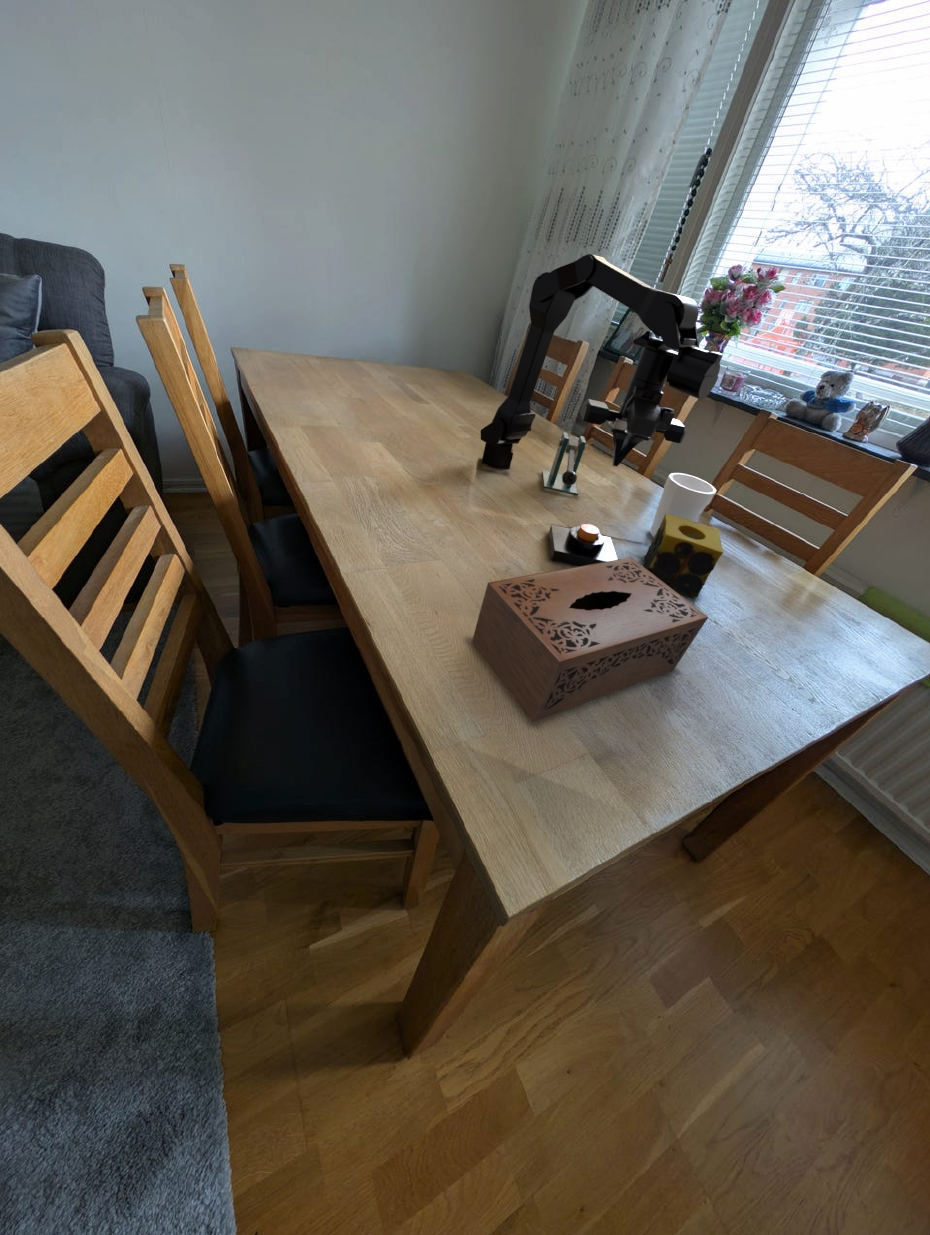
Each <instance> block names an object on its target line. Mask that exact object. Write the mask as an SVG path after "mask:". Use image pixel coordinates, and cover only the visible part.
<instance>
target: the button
mask: <svg viewBox="0 0 930 1235" xmlns="http://www.w3.org/2000/svg"><path fill="white" fill-rule="evenodd" d="M579 526H580V528H579V531H578V534H577V535H578V536H579V537H580V538H582V539H584V540H587V541H596V539H597V537H598V535H599V533H600V532H601V531H600V529H599V528H598V527H597V526H595V525H593V524H589V523H582V524H581V525H579Z"/></svg>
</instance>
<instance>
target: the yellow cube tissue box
mask: <svg viewBox="0 0 930 1235" xmlns="http://www.w3.org/2000/svg"><path fill="white" fill-rule="evenodd" d="M651 540H652V541H651V542H650V544H649V547H648V548H647V552H646V553H645V555H644V557H643V559H644V560H643V565H642V566H643V567H644V568H646V569H647V570H648V571H650V572H651V573H652V574H653V575H655V576H656V577H657V578H659V579H660V580H661V581H663V582H664V583H665V584H666V585H668V586H669V587H670V588H672V589H673V590H674V591H675V592H677V593H678V594H680V595H682V596H686V597H689V598H692V599H697V598H698V597H699V595H700V592H701V591H702V590H703V587H704V586H705V585H706V582H707V581H708V578H709V576H710V575H711V573H712V571H714V569H715V567H716V565H717V563H718V561H719V560H720V558H721V557H722V555H723V554H724V548H723V545H722V538H721V530H720V529H719V528H716V527H713V526H710V525H706V524H703V523H700V522H696V521H695V522H693V521H690V520H687V519H684V518H680V517H677V516H674V515H670V514H665V516H664V518H663V521H662V523H661V525H660V528H659V529H658V531H657V533H656V535H655V536H654V537H653V539H651Z"/></svg>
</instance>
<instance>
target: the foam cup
mask: <svg viewBox="0 0 930 1235" xmlns="http://www.w3.org/2000/svg"><path fill="white" fill-rule="evenodd" d="M716 492H717V489H716V488H715V486H714V485H712V484H711V483H709V482H707V481H706V480H704V479H701V478H700V477H697V476H694V475H691V474H688V473H682V472H670V473H669V475H668V477H667V479H666V481H665V483H664V485H663V491H662V493H661V497H660V499H659V503H658V506H657V508H656V512H655V515H654V517H653V521H652V524H651V526H650V530H649V533H650V535H651V536H652V537H653V538H654V536H655V535H656V533H657V531H658V529H659V528H660V525H661V523H662V521H663V518H664V516H665V514H670V515H674V516H677V517H680V518H684V519H687V520H690V521H693V522H696V521H697V520H698V519H699V517H700V516H701V515H702V513H703V512H704V510H705V509H706V508H707V506H708V505H710V504H711V502H712V501H713V498H714V496H715V495H716Z"/></svg>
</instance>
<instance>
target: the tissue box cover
mask: <svg viewBox="0 0 930 1235" xmlns="http://www.w3.org/2000/svg"><path fill="white" fill-rule="evenodd" d="M480 607H481V608H480V610H479V614H478V618H477V621H476V625H475V629H474V632H473V636H472V640H471V643H472V645H473V646H474V647H475V649H476V650H477V651H478V653H479V654H480V655H481V657H482V658H483V659H484V660H485V662H486V663H487V664H488V666H489V667H490V668H491V670H492V671H493V672H494V674H495V675H496V676H497V678H498V679H499V680H500V681H501V683H502V684H503V685H504V686H505V689H507V690H508V692H509V693H510V694H511V696H512V697H513V698H514V700H515V702H516V703H518V705H519V706H520V708H521V709H522V710H523V711H524V712H525V714H526V716H528V718H529V719H530V720H531V722H532V723H535V722H538V721H540V720H544V719H545V718H548V717H551V716H553V715H556V714H559V713H562V712H564V711H567V710H570V709H573V708H575V707H579V706H581V705H584V704H587V703H589V702H591V701H594V700H597V699H600V698H603V697H605V696H608V695H611V694H613V693H615V692H619V691H622V690H624V689H627V688H630V687H632V686H636V685H638V684H641V683H643V682H646V681H649V680H651V679H654V678H656V677H657V678H658V677H659V676H662V675H664V674H667V673H670V672H674V670H675V669H676V668H677V666H678V664H679V663H680V661H681V660H682V658H683V656H684V655H685V654H686V653H687V651H688V649H689V648H690V646H691V645H692V643H693V641H694V640H695V639H696V637H697V635H698V634H699V633H700V631H701V630H702V628H703V627H704V624H706V622H707V620H708V619H709V616H708V615H707V614H705V613H704V612H703V611H701V610H700V609H699V608H698V607H697V606H695V605H694V604H692V603H691V602H690V601H689V600H687V599H686V598H685V597H683V595H682V594H680V593H677V592H675V591H674V590H673V589H672V588H670V587H669V586H668V585H666V584H665V583H664V582H663V581H661V580H660V579H659V578H657V577H656V576H655V575H653V574H652V573H651V572H650V571H648V570H647V569H646V568H644V567H643V565H642V564H641V563H639V562H638V561H636V560H635V559H634V558H633V557H625V558H624V557H623V558H620V559H619V558H618V560H613V561H607V562H601V563H596V564H590V565H584V566H573V567H568V568H561V569H557V570H550V571H546V572H539V573H534V574H528V575H523V576H516V577H512V578H511V577H510V578H506V579H499V580H495V581H494V580H493V581H489V582H487V585H486V589H485V592H484V596H483V599H482V603H481V606H480Z"/></svg>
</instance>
